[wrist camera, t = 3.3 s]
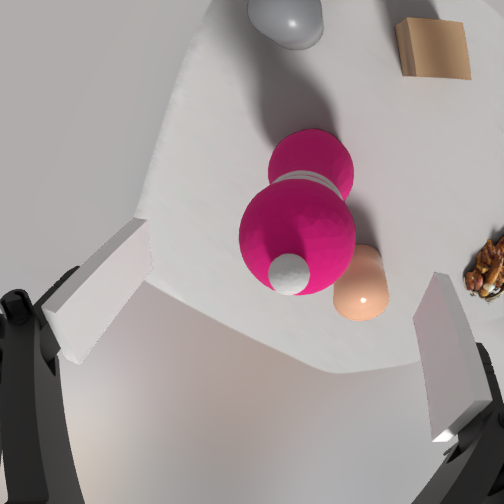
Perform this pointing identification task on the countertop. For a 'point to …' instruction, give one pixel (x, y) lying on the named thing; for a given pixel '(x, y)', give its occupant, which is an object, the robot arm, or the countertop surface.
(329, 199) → the pepper mill
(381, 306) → the peach rounded cylinder
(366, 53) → the countertop surface
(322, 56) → the countertop surface
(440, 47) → the tan block
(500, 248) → the brown lumpy mound
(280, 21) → the grey cylinder
